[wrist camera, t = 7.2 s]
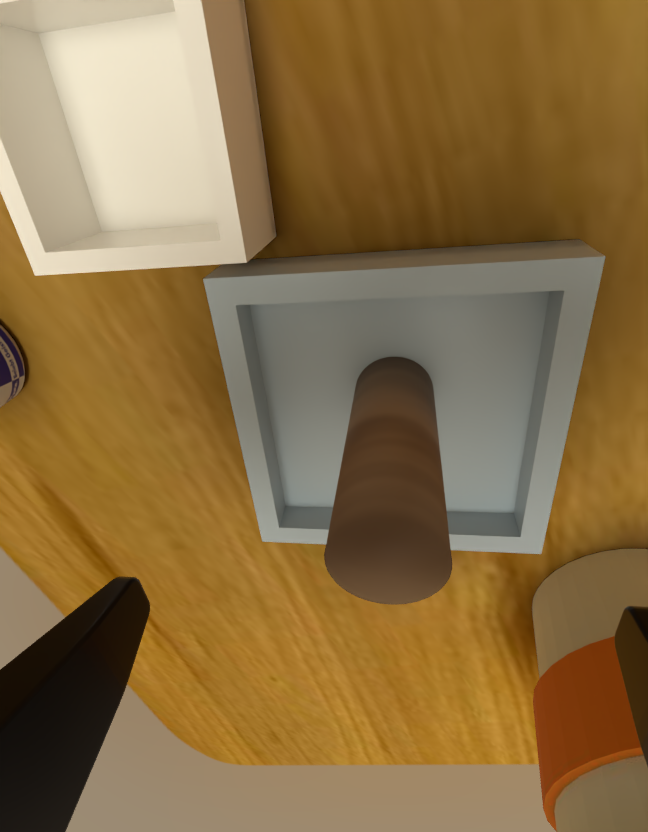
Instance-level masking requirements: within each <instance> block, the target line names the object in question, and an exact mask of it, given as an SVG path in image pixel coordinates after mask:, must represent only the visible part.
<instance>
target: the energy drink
mask: <svg viewBox="0 0 648 832" xmlns="http://www.w3.org/2000/svg"><path fill="white" fill-rule="evenodd" d="M24 380H25V369H24V362H23V358H22V355H21V352H20V350H19V348H18V346H17V345H16V343H15V341H14V340H13V338H12V337H11V336H10V334H9V333H8V332H7V331H6V330H5V329H4V328H3V327H2V326H1V325H0V407H1V406H3V405H4V404H6V403H7V402H8V401H10V400H11V399H13V398H14V397H15V396H17V395H18V393H19V392H20V391H21V389H22V387H23V383H24Z"/></svg>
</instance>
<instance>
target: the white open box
mask: <svg viewBox="0 0 648 832" xmlns="http://www.w3.org/2000/svg"><path fill="white" fill-rule="evenodd" d="M0 191H1V194H2V196H3V199H4V201H5V203H6V206H7V208H8V211H9V213H10V216H11V218H12V220H13V223H14V225H15V228H16V230H17V233H18V235H19V238H20V240H21V242H22V245H23V247H24V250H25V252H26V255H27V257H28V259H29V262H30V264H31V267H32V269H33V272H34V274H35V276H37V275H54V274H70V273H86V272H103V271H119V270H135V269H152V268H168V267H185V266H201V265H217V264H234V263H247V262H248V261H249V260H250V259H252V258H253V257H254V256H255V255H256V254H257V253H258V252H259V251H261V250H262V249H263V248H264V247H265V246H266V245H267V244H268V243H270V242H271V241H272V240H273V239H274V238H275V237H276V228H275V221H274V214H273V207H272V199H271V192H270V185H269V177H268V170H267V163H266V156H265V148H264V141H263V134H262V127H261V119H260V112H259V105H258V98H257V90H256V83H255V76H254V69H253V61H252V54H251V47H250V39H249V32H248V25H247V18H246V10H245V3H244V0H0Z"/></svg>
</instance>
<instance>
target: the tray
mask: <svg viewBox="0 0 648 832" xmlns="http://www.w3.org/2000/svg"><path fill="white" fill-rule="evenodd" d="M605 257H606V256H604V255H603V254H601V253H600V252H598V251H597V250H595V249H594V248H592V247H591V246H589V245H588V244H586V243H585V242H583V241H582V240H580V239H575V240H559V241H543V242H526V243H510V244H494V245H478V246H462V247H446V248H430V249H414V250H398V251H382V252H366V253H349V254H333V255H317V256H301V257H285V258H269V259H253V260H249V261H248V262H247V263H234V264H222V265H220V266H219V267H218V268H216V269H215V270H214V271H213V272H211V273H210V274H209V275H207V276H206V277H205V278H203V281H204V285H205V290H206V294H207V299H208V303H209V308H210V312H211V316H212V321H213V325H214V330H215V334H216V339H217V343H218V347H219V352H220V356H221V361H222V365H223V370H224V374H225V378H226V383H227V387H228V392H229V396H230V400H231V405H232V409H233V414H234V418H235V423H236V427H237V431H238V436H239V440H240V445H241V449H242V454H243V458H244V462H245V467H246V471H247V476H248V480H249V485H250V489H251V493H252V498H253V502H254V507H255V511H256V516H257V520H258V524H259V529H260V533H261V538H262V541H263V542H285V543H307V544H326V543H327V538H328V532H329V527H330V521H331V516H332V511H333V505H334V500H335V495H336V489H337V484H338V479H339V473H340V468H341V462H342V457H343V452H344V446H345V441H346V436H347V430H348V425H349V420H350V414H351V409H352V403H353V398H354V393H355V387H356V383H357V379H358V377H359V375H360V374H361V372H362V371H363V370H364V369H365V368H366V367H367V366H368V365H369V364H371V363H372V362H374V361H376V360H379V359H382V358H386V357H403V358H407V359H410V360H412V361H415V362H416V363H418V364H419V365H421V366H422V367H423V368H424V369H425V370H426V371H427V373H428V374H429V376H430V378H431V380H432V383H433V390H434V399H435V408H436V418H437V427H438V436H439V446H440V455H441V464H442V474H443V483H444V492H445V502H446V511H447V520H448V530H449V539H450V548H451V550H462V551H484V552H506V553H529V554H541V553H542V548H543V544H544V539H545V534H546V530H547V525H548V521H549V516H550V511H551V507H552V502H553V497H554V493H555V488H556V484H557V479H558V474H559V470H560V465H561V460H562V456H563V451H564V446H565V442H566V437H567V433H568V428H569V423H570V419H571V414H572V409H573V405H574V400H575V396H576V391H577V386H578V382H579V377H580V372H581V368H582V363H583V358H584V354H585V349H586V345H587V340H588V335H589V331H590V326H591V321H592V317H593V312H594V308H595V303H596V298H597V294H598V289H599V284H600V280H601V275H602V270H603V266H604V261H605Z"/></svg>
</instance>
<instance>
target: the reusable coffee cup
mask: <svg viewBox="0 0 648 832" xmlns="http://www.w3.org/2000/svg"><path fill="white" fill-rule="evenodd" d="M627 606H642V607H648V549H617V550H610V551H603V552H599V553H595V554H591V555H587V556H584V557H582V558H579V559H577V560H574V561H572V562H569V563H567V564H566V565H564V566H562V567H561V568H559V569H557V570H555V571H554V572H553V573H552V574H551V575H549V576H548V577H547V578H546V579H545V580H544V581H543V582H542V584H541V585H540V586H539V587H538V589H537V590H536V593H535V595H534V598H533V602H532V615H533V624H534V633H535V642H536V651H537V660H538V669H539V678H540V679H539V681H538V683H537V685H536V687H535V689H534V698H533V706H534V716H535V727H536V737H537V747H538V758H539V767H540V778H541V788H542V799H543V809H544V812H545V815H546V818H547V821H548V822H549V823H550V824H551V826H552V827H553V828H554V829H555V830H556V832H648V767H647V764H646V761H645V758H644V755H643V752H642V749H641V746H640V742H639V739H638V735H637V732H636V728H635V724H634V720H633V716H632V712H631V708H630V704H629V700H628V696H627V692H626V688H625V685H624V681H623V677H622V673H621V669H620V665H619V661H618V657H617V653H616V649H615V642H614V638H615V632H616V629H617V627H618V624H619V621H620V619H621V616H622V613H623V611H624V609H625V608H626V607H627Z"/></svg>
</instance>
